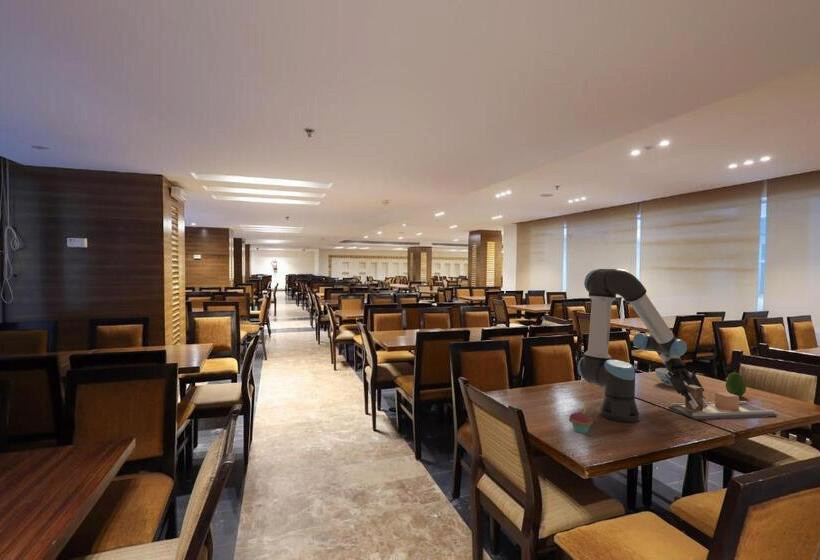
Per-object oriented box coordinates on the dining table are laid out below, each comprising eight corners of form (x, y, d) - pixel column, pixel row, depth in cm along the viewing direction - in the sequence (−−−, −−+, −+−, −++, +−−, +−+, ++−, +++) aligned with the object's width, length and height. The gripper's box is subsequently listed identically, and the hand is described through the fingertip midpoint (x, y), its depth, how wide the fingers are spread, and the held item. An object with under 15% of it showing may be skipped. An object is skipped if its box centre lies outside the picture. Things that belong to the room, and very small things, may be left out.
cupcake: (588, 427, 157) (588, 397, 157) (596, 435, 148) (596, 404, 148) (566, 426, 158) (566, 397, 158) (572, 435, 149) (573, 403, 149)
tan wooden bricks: (698, 414, 168) (698, 389, 168) (679, 407, 178) (680, 383, 178) (751, 412, 171) (751, 388, 171) (731, 405, 181) (731, 382, 181)
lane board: (695, 419, 166) (695, 414, 166) (668, 407, 181) (668, 402, 181) (776, 416, 169) (776, 411, 169) (743, 405, 184) (743, 400, 184)
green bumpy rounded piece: (729, 392, 204) (729, 370, 204) (748, 396, 198) (748, 373, 198) (723, 395, 200) (723, 372, 200) (742, 399, 193) (742, 375, 193)
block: (726, 410, 172) (726, 396, 172) (714, 405, 178) (714, 392, 178) (739, 409, 172) (739, 396, 172) (727, 405, 178) (727, 392, 178)
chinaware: (673, 381, 228) (673, 367, 227) (694, 388, 213) (694, 374, 213) (649, 381, 227) (649, 368, 227) (668, 388, 212) (668, 374, 212)
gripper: (684, 365, 190) (713, 411, 173) (651, 366, 188) (677, 411, 172) (693, 357, 184) (724, 402, 168) (659, 357, 183) (687, 403, 166)
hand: (700, 407), depth 170 cm, fingers closed on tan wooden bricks, 4 cm apart
